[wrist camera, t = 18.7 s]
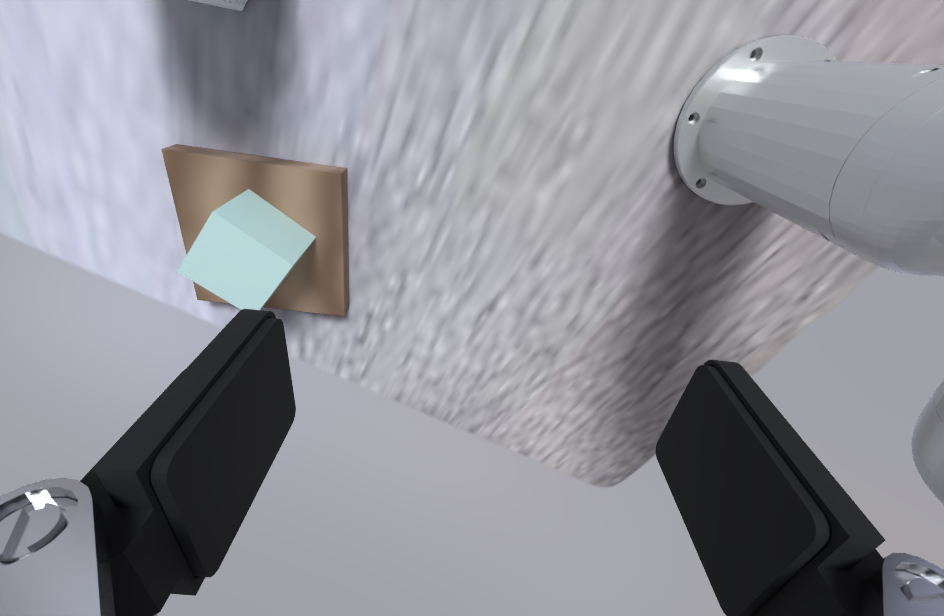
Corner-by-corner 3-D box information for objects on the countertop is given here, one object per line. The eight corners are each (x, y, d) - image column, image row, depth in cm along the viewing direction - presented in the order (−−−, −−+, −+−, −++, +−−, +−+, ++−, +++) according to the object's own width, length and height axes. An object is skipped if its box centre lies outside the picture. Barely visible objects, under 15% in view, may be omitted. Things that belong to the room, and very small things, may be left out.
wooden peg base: (347, 168, 36) (325, 189, 30) (349, 305, 43) (331, 343, 37) (176, 144, 34) (121, 162, 29) (208, 289, 42) (169, 325, 36)
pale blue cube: (248, 188, 34) (212, 211, 30) (316, 236, 37) (292, 265, 32) (215, 242, 37) (176, 271, 32) (280, 284, 39) (254, 317, 34)
